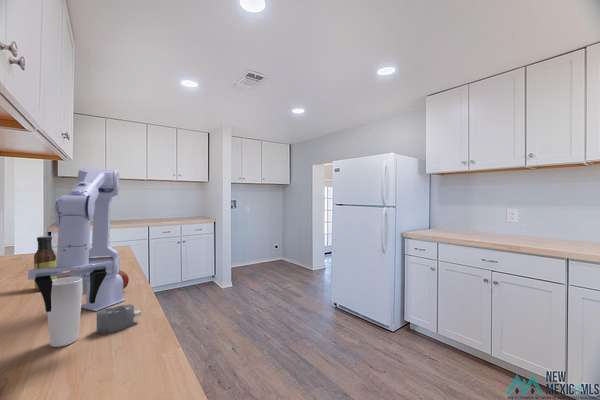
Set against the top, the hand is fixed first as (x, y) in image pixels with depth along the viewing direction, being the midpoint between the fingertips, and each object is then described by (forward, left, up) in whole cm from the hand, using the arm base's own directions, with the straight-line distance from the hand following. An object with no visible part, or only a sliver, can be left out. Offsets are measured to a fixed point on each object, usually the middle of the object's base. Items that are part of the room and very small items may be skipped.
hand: (71, 306), depth 62 cm
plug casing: (-11, -2, -10) cm, 15 cm away
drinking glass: (-2, -6, -11) cm, 12 cm away
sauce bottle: (-22, -55, -11) cm, 60 cm away
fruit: (-29, -27, -11) cm, 41 cm away
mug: (-27, -39, -11) cm, 49 cm away
